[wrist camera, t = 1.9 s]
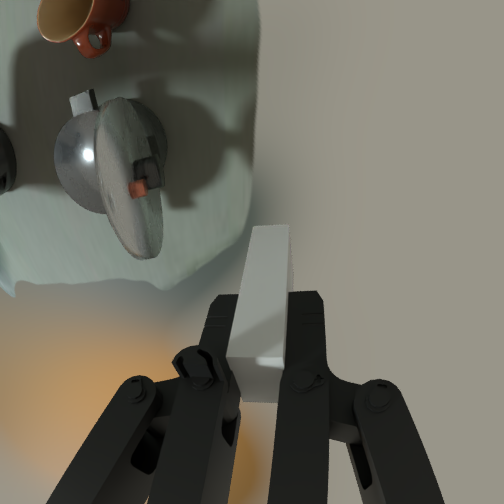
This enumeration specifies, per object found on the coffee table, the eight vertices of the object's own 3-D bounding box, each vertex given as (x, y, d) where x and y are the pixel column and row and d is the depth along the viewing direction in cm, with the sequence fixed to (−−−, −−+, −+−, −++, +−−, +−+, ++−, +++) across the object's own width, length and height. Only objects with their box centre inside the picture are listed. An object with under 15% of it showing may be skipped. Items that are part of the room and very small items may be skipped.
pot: (105, 207, 47) (81, 233, 40) (71, 99, 36) (37, 113, 30) (188, 195, 44) (170, 224, 38) (158, 68, 33) (129, 74, 27)
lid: (143, 296, 24) (177, 289, 24) (73, 115, 15) (115, 100, 16) (160, 211, 37) (184, 205, 37) (127, 93, 28) (153, 85, 28)
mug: (77, 4, 27) (30, 4, 19) (127, -28, 24) (84, -41, 16) (102, 68, 33) (56, 78, 25) (154, 38, 31) (114, 38, 23)
